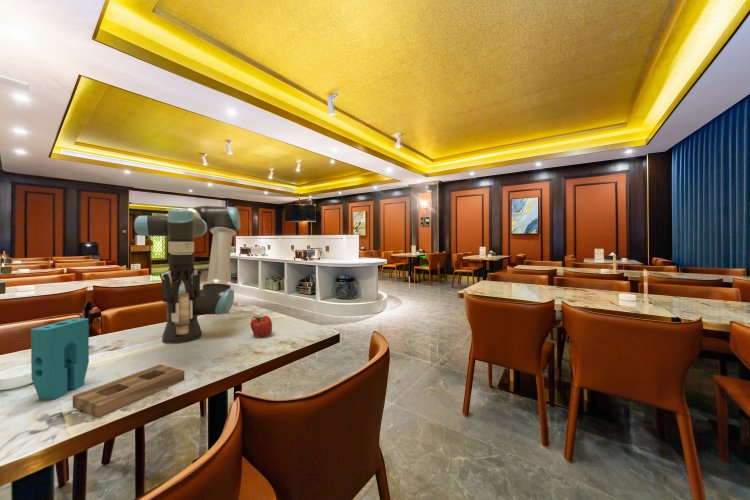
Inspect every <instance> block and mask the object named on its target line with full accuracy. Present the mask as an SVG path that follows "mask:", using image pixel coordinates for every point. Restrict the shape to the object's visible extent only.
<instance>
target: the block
mask: <svg viewBox="0 0 750 500" xmlns="http://www.w3.org/2000/svg"><path fill="white" fill-rule="evenodd" d="M89 335H90V334H89V318H86V317H85V318H79V317H78V318H70V319H65V320H62V321H57V322H54V323H50V324H46V325H42V326H38V327H34V328H31V329H30V351H31V352H30V353H31V354H30V356H31V358H30V359H31V360H30V362H31V370H30V371H31V381H32V384H33V386H34V389H35V391H36V395H37V397H38V399H39V400H41V401H42V400H43V401H44V400H57V399H59V398H61V397H63V396H65V395H67V394H68V391H70V390H71V391H72V390H73V391H74V390H75V391H76V390H77V389H80V388H81V387H84V383H85V380H86V376H87V375H86V374H87V371H88V368H89V367H88V366H89V362H90V361H89V359H90V354H89V353H90V350H89V347H90V346H89V343H90V342H89Z"/></svg>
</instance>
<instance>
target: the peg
mask: <svg viewBox="0 0 750 500" xmlns="http://www.w3.org/2000/svg"><path fill="white" fill-rule="evenodd" d="M176 303H179V322H175V326H176V334H177V335H182V334H186V333H188V332H189V331H188V325H189V324H190V322H189V293H178V297H177V302H176Z"/></svg>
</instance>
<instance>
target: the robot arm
mask: <svg viewBox="0 0 750 500" xmlns="http://www.w3.org/2000/svg"><path fill="white" fill-rule="evenodd" d="M241 223H242V222H241V217H240V212H239V210H238V209H237V207H234V206H217V205H216V206H215V205H214V206H212V205H200V206H195V207H189V208H188V207H187V208H185V209H183V208H182V209H181V208H171V209H169V210H168V213H164V214H157V215H138V216H136V218H135V219H134V222H133V227H134V231H135V233H136V234H137V235H139V236H141V237H143V236H144V237H167V239H168V243H167V244H168V245H167V246H168V247H167V248H168V250H167V251H168V254H169V255H168V265H169V267H168V268H169V269H168V271H166V272H164V273H160V274H159V278H160V279H161V288H162V289H161V292H162V302H163V303H165V304H166V324H165V328H164V330H163V334H162V336H161V341H162V343H165V344H181V343H187V342H191V341H195V340H198V339H200V338H201V337H202V335H203V332H202V328H201V326H200V323H199V320H198V316H205V315H206V316H208V315H225V314H227V313H228V312H230V311H231V309H232V307H233V304H234V299H235V291H234V289H233V288H231V284H230V283H229V282H228V281H229V274H230V273H229V271H230V262H231V253H232V252H231V251H232V242H233V237H234V236H235V235H236V234H237V231H239V230H241V228H242V227H241V225H242V224H241ZM208 230H209V231H210V233H211V234H212V240H211V248H210V256H209V265H208V274H207V280H206V282H205V283H203V285H202V289H201V276H202V270H199V269H195V267H194V264H195V255H194V254H193V253H195V238H199V237H202V236H204V235H205V234H206V233H207V231H208ZM182 283H183V284H184V287H180V286H181V284H182ZM178 293H189V322H190V324H189V325H188V331H189V332H188V333H186V334H182V335H177V334H176V326H175V322H179V303H176V302H177V297H178Z"/></svg>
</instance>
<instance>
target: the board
mask: <svg viewBox="0 0 750 500" xmlns="http://www.w3.org/2000/svg"><path fill="white" fill-rule="evenodd" d="M182 381H185V370H183V369H179V368H176V367H173V366H169V365H164V364H161V363H160V364H157V365H154V366H151V367H149V368H146V369H143V370H140V371H137V372H134V373H132V374H130V375H126V376H124V377H121V378H118V379H115V380H112V381H110V382H107V383H104V384H101V385H98V386H96V387H93V388H90V389H88V390H85V391H82V392H79V393H76V394H73V395H72V408H75V409H77V410H80V411H82V412H84V413H86V414H90V415H92V416H94V417H96V418H101V417H103V416H106V415H107V414H110V413H112V412H114V411H116V410H119V409H121V408H123V407H125V406H128V405H130V404H132V403H135V402H137V401H139V400H141V399H144V398H146V397H148V396H150V395H151V396H152V395H153V394H155V393H158V392H159V391H160V392H161V391H162V390H165V389H166V388H169V387H172V386H174V385H176V384H178V383H180V382H182Z"/></svg>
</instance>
